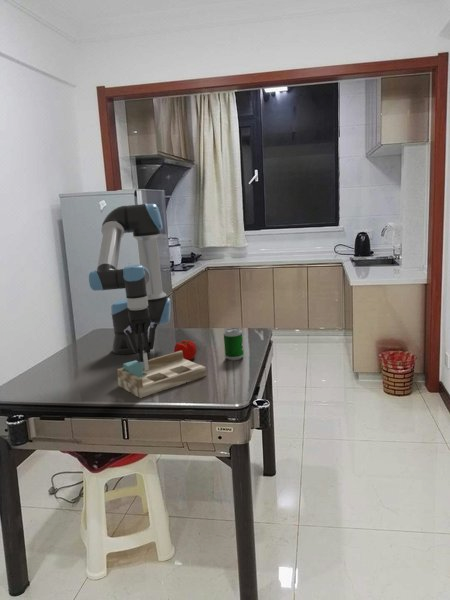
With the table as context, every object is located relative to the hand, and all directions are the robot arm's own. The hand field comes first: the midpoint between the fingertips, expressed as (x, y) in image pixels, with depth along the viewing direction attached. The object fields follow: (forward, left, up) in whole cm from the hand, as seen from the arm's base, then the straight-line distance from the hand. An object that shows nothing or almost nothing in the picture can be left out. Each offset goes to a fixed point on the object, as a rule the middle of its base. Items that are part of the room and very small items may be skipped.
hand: (145, 369), depth 190 cm
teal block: (0, -5, -1) cm, 5 cm away
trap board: (+4, +4, -5) cm, 8 cm away
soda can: (+5, +38, -5) cm, 39 cm away
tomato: (-10, +24, -5) cm, 27 cm away
